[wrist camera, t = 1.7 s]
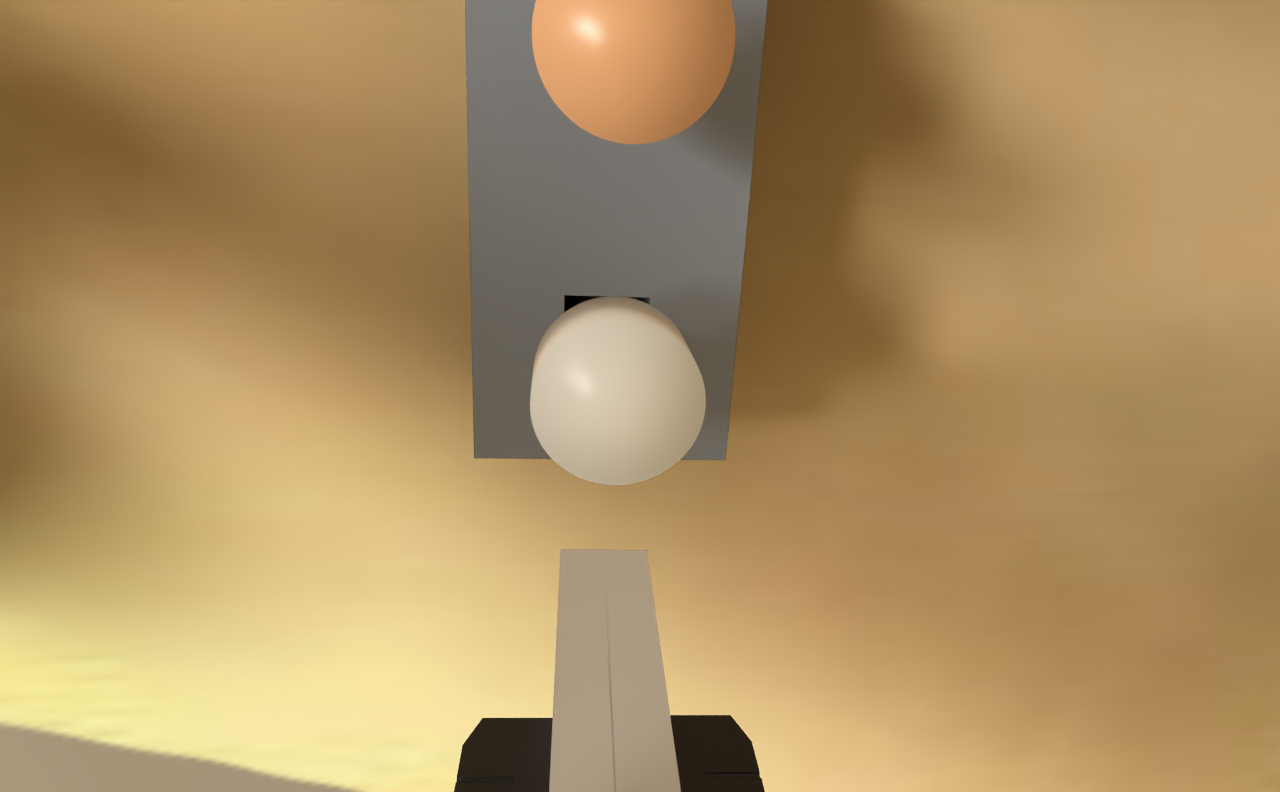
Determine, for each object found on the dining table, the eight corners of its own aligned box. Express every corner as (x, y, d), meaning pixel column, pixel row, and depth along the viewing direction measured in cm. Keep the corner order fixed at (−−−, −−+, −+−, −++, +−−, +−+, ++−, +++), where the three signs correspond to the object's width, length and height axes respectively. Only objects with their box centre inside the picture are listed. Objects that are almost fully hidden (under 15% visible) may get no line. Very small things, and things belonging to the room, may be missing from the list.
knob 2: (538, 371, 35) (529, 485, 25) (539, 249, 34) (530, 317, 23) (659, 373, 36) (699, 486, 26) (666, 253, 34) (712, 322, 24)
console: (490, 389, 40) (474, 458, 32) (484, -81, 33) (462, -132, 26) (699, 393, 41) (730, 460, 33) (734, -63, 34) (783, -107, 27)
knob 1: (540, 125, 32) (531, 139, 22) (542, -25, 30) (531, -87, 20) (674, 131, 33) (726, 148, 22) (683, -15, 31) (744, -71, 20)
